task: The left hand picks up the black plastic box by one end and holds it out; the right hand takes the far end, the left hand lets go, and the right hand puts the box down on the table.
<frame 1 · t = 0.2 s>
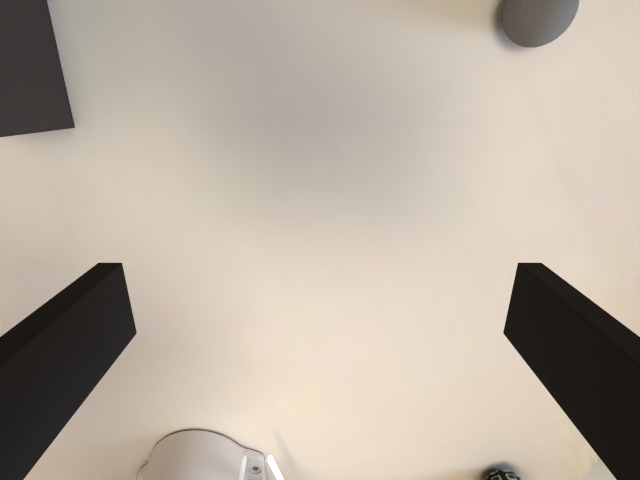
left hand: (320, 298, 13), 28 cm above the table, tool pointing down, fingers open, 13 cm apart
grenade: (496, 474, 55), on the table
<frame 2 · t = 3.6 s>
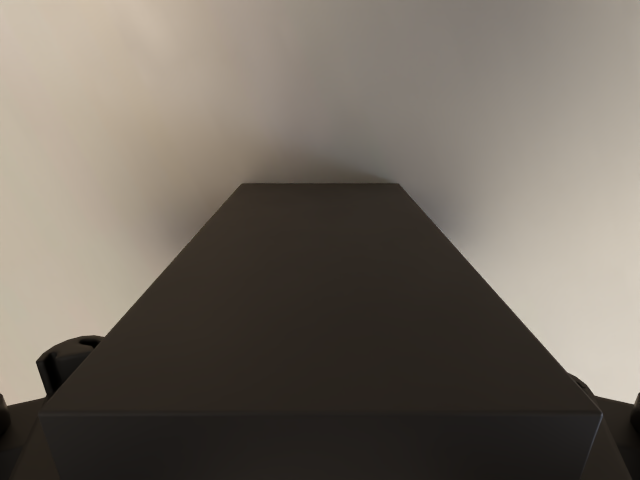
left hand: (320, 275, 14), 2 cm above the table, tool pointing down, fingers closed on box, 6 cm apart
box: (320, 402, 20), on the table, touching left hand
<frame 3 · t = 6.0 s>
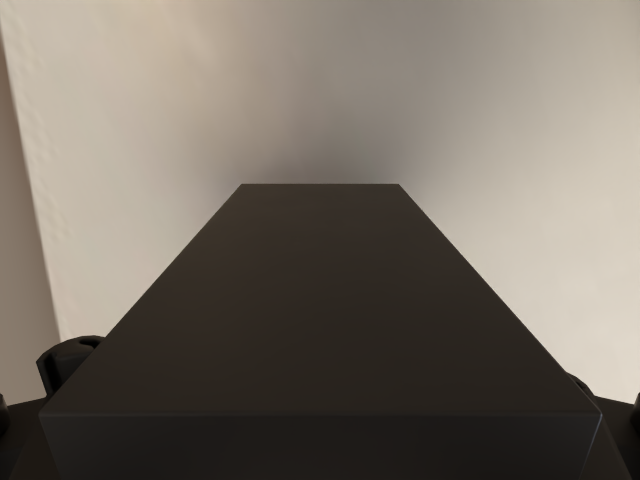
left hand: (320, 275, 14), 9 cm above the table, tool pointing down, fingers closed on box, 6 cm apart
box: (320, 402, 20), point 7 cm above the table, touching left hand
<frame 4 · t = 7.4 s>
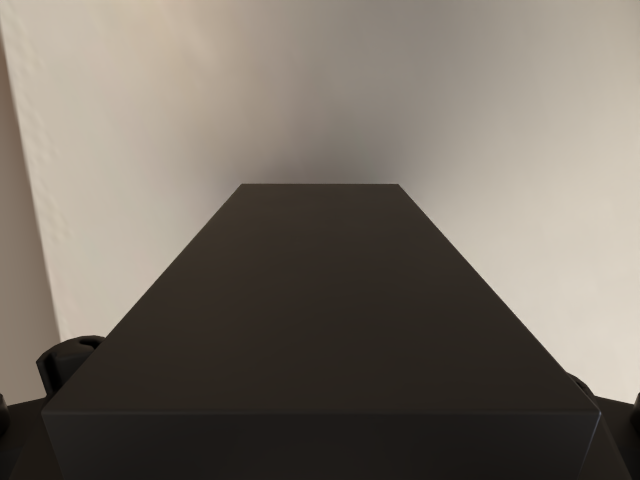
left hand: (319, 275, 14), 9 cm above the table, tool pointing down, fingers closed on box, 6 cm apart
box: (319, 402, 20), point 7 cm above the table, touching left hand, right hand
when the left hand's fingers open (9 cm above the table, at t = 8.5 s): box stays where it is, held by the right hand.
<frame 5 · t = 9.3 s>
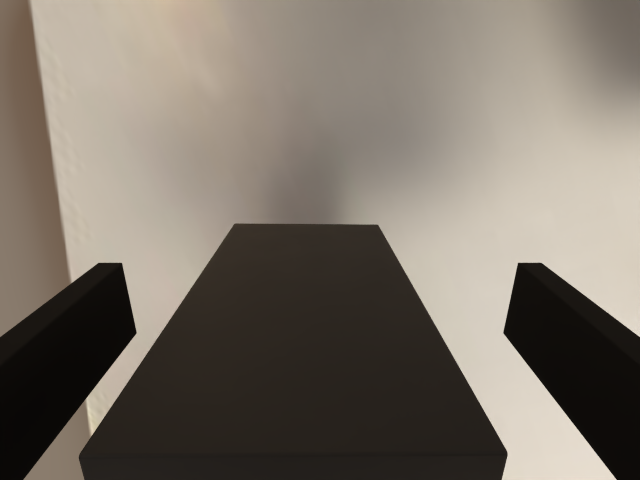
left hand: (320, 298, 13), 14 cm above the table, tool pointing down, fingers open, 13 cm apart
box: (306, 424, 21), point 10 cm above the table, touching right hand
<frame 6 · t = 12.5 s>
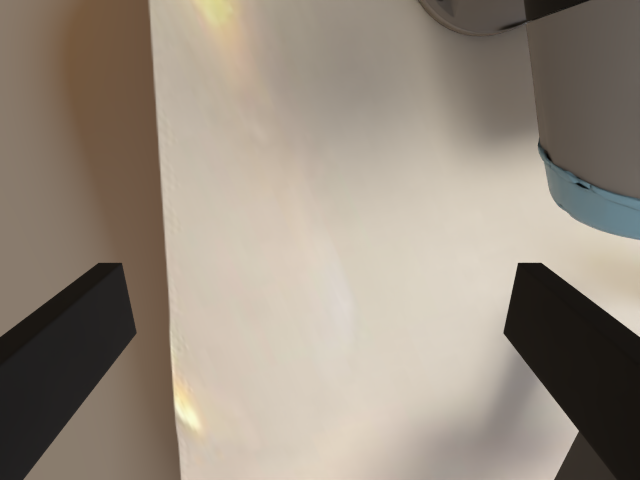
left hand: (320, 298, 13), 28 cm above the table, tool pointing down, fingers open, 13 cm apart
when the right hand's fingers open (8 cm above the table, at t = 17.7 s): box stays where it is, on the table.
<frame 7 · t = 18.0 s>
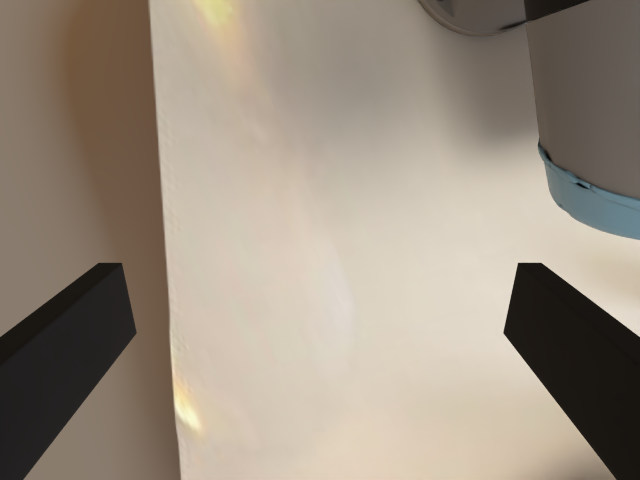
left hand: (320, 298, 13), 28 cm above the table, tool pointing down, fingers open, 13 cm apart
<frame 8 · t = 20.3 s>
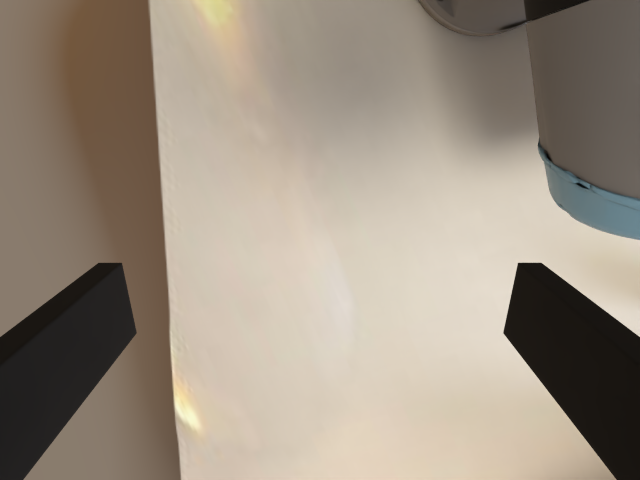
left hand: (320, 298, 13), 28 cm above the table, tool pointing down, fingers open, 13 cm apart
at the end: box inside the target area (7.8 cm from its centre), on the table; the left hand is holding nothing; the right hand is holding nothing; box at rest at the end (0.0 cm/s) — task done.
